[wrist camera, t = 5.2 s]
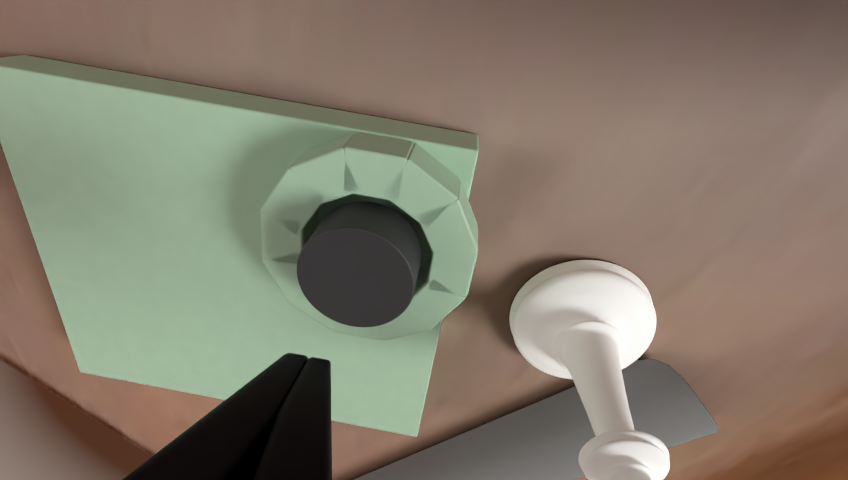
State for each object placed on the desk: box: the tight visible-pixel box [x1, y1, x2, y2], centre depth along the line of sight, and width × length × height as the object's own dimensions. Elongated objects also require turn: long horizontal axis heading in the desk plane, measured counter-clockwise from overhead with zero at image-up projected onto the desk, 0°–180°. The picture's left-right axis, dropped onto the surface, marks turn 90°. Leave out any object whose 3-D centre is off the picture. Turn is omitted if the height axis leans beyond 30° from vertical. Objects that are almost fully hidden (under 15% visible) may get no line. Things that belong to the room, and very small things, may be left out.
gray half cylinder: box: [354, 359, 720, 480], centre depth 20 cm, size 4×20×2 cm, turn 129°
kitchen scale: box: [0, 55, 479, 437], centre depth 15 cm, size 14×12×3 cm
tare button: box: [297, 201, 422, 327], centre depth 12 cm, size 3×3×2 cm
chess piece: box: [509, 260, 670, 480], centre depth 11 cm, size 5×5×10 cm
